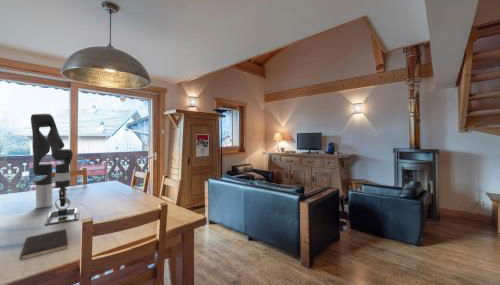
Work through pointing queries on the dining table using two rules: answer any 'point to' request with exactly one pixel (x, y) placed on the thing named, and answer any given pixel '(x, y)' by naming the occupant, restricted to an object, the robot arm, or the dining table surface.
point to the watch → (63, 210)
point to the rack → (54, 218)
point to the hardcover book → (44, 243)
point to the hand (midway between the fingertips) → (63, 205)
